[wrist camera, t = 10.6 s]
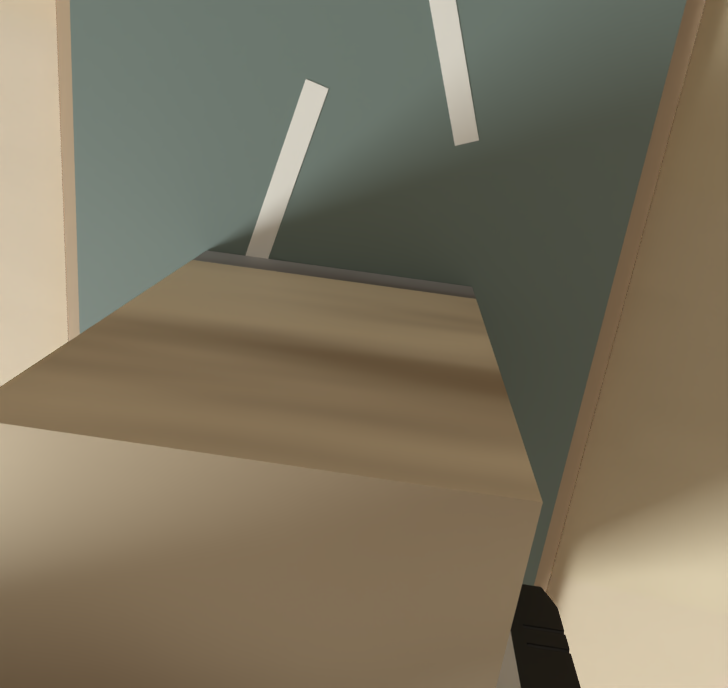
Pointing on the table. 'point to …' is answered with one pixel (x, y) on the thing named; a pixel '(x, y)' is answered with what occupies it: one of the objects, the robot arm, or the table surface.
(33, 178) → the table surface
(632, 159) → the chalkboard
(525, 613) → the robot arm
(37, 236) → the table surface
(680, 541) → the table surface
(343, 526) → the eraser block
